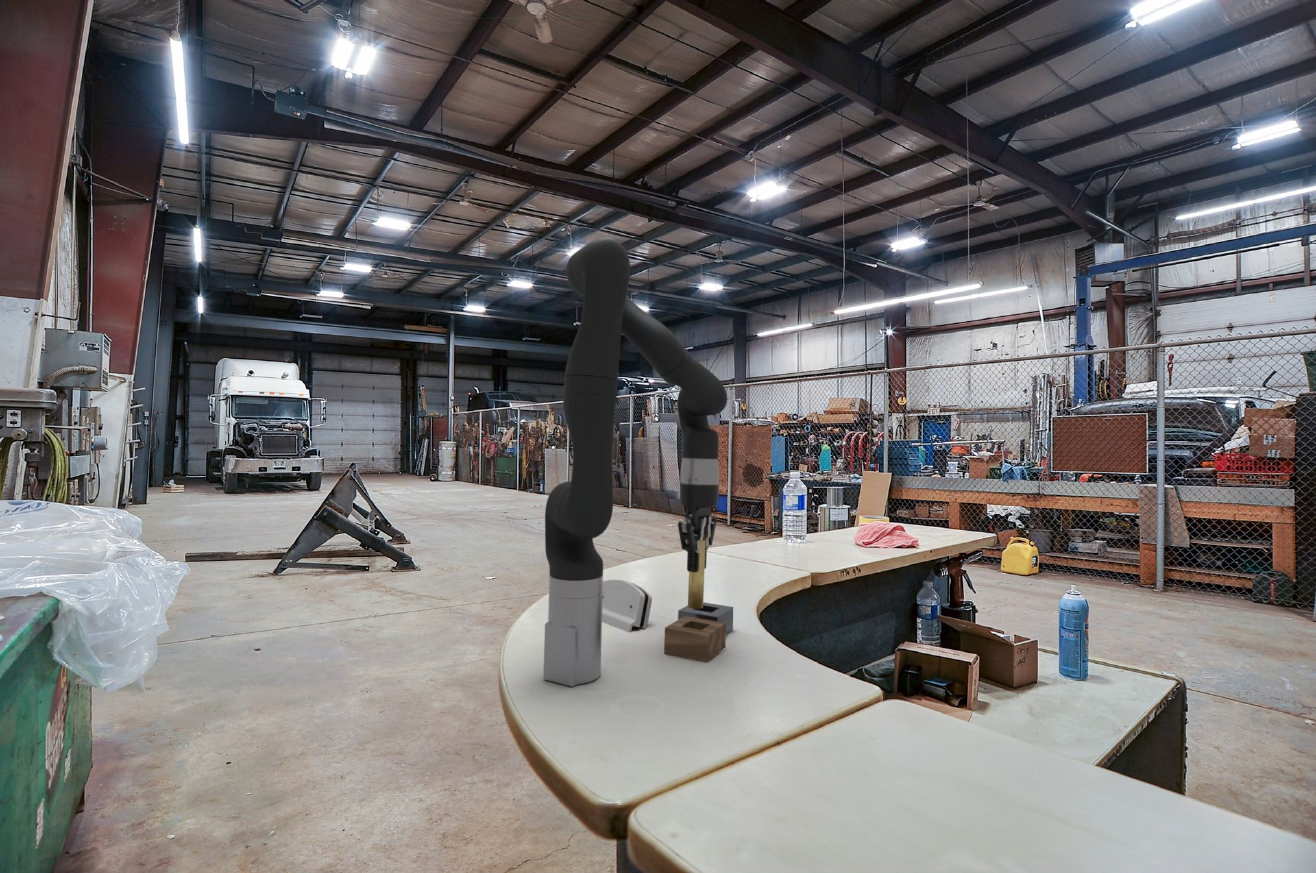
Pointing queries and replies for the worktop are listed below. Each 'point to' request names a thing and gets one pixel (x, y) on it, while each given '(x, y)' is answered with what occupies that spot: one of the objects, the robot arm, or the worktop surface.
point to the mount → (695, 638)
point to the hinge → (625, 605)
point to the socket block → (710, 614)
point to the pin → (697, 582)
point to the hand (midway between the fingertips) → (696, 569)
